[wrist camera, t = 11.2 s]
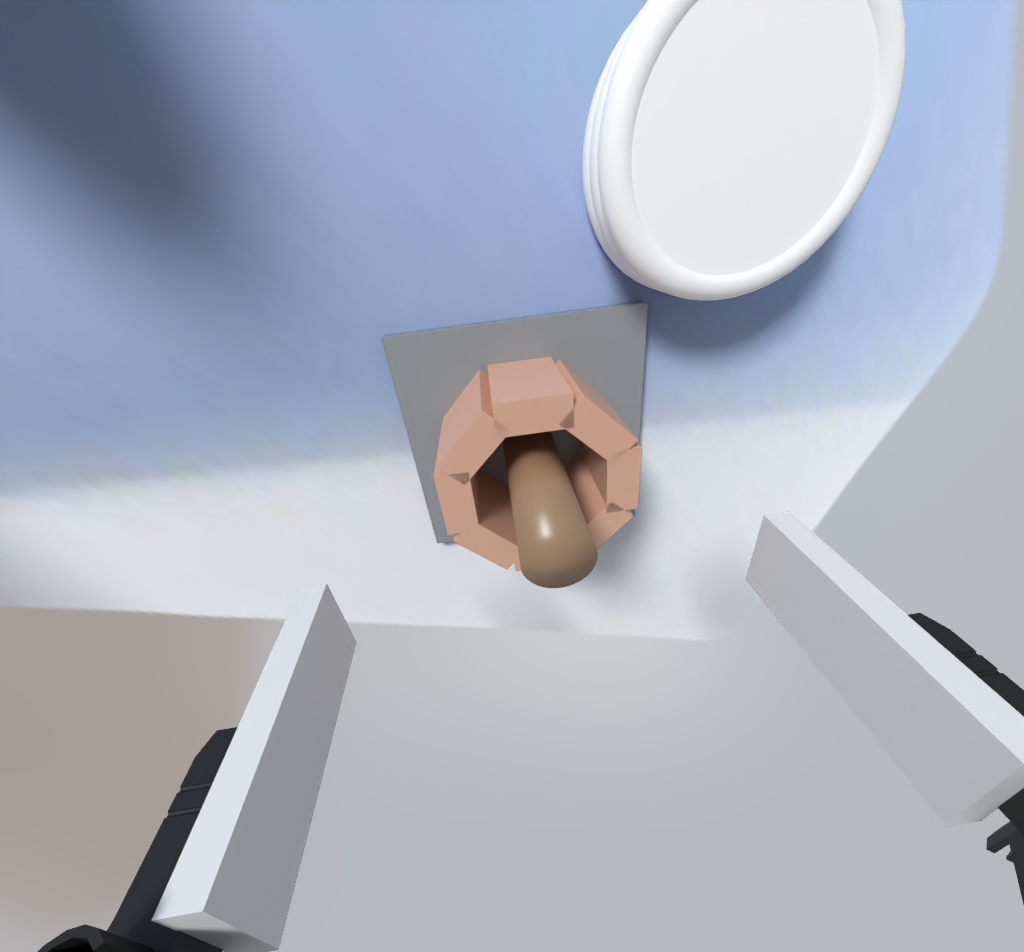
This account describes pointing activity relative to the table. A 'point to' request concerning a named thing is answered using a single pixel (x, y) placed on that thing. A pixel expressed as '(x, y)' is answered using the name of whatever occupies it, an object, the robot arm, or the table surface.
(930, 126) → the table surface
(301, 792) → the robot arm
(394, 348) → the post block
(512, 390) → the ring
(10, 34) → the table surface
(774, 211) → the coaster
